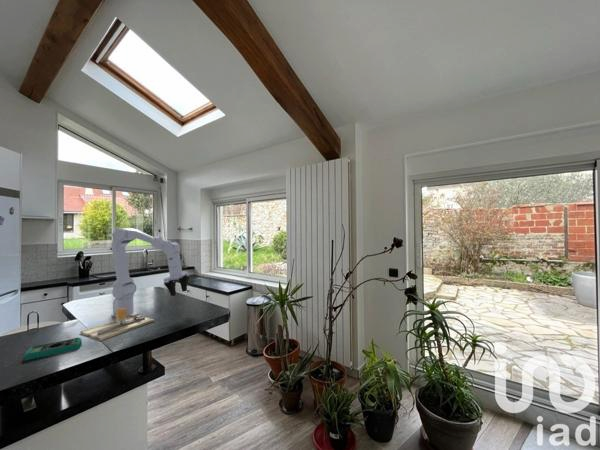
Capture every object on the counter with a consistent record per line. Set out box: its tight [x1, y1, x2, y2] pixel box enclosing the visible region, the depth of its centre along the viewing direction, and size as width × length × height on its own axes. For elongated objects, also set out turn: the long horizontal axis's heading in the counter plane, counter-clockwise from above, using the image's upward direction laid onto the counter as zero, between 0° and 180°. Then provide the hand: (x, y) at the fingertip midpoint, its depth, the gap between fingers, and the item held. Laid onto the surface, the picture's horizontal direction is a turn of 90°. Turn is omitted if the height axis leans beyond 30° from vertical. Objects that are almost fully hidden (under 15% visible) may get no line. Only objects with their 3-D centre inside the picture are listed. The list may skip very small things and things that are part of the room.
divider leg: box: [115, 308, 129, 324], centre depth 118 cm, size 6×3×7 cm, turn 62°
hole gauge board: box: [79, 312, 155, 342], centre depth 118 cm, size 16×22×4 cm
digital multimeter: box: [24, 337, 83, 361], centre depth 96 cm, size 7×15×3 cm, turn 124°
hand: (179, 293), depth 132 cm, fingers open, 7 cm apart
